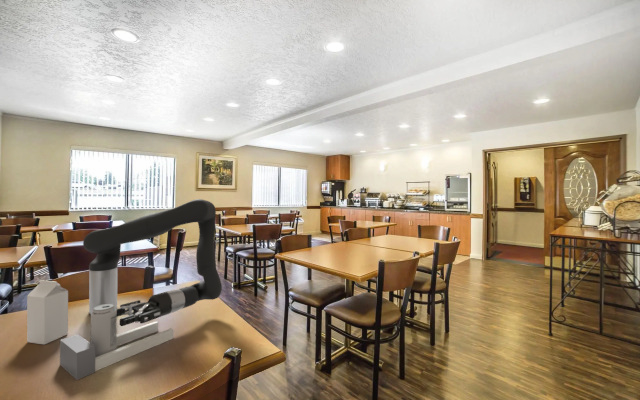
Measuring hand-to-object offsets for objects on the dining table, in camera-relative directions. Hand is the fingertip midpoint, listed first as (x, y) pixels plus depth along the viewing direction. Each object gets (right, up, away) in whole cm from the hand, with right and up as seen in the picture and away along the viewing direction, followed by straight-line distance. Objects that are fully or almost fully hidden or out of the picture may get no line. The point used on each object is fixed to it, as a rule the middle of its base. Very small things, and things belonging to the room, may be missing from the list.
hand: (113, 319), depth 86 cm
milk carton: (-28, -10, +9) cm, 31 cm away
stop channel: (+1, -10, +2) cm, 11 cm away
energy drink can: (-2, -11, -2) cm, 11 cm away
